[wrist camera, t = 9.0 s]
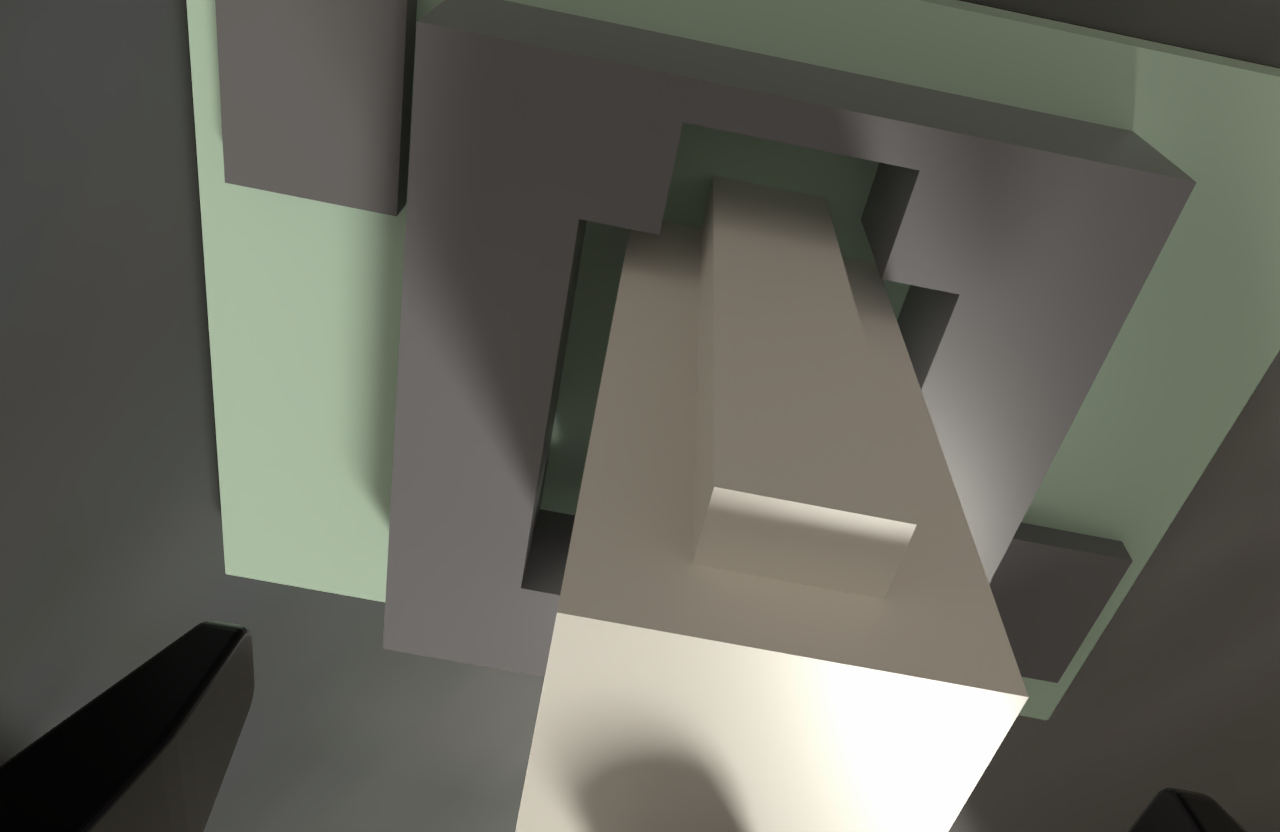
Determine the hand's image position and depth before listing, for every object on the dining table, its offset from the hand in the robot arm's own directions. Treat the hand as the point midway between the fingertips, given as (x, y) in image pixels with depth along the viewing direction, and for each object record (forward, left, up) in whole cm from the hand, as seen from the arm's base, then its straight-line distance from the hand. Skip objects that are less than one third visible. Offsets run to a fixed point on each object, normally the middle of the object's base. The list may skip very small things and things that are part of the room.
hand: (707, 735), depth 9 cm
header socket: (0, 0, -8) cm, 8 cm away
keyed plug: (0, 0, -7) cm, 7 cm away
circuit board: (0, 0, -8) cm, 8 cm away
